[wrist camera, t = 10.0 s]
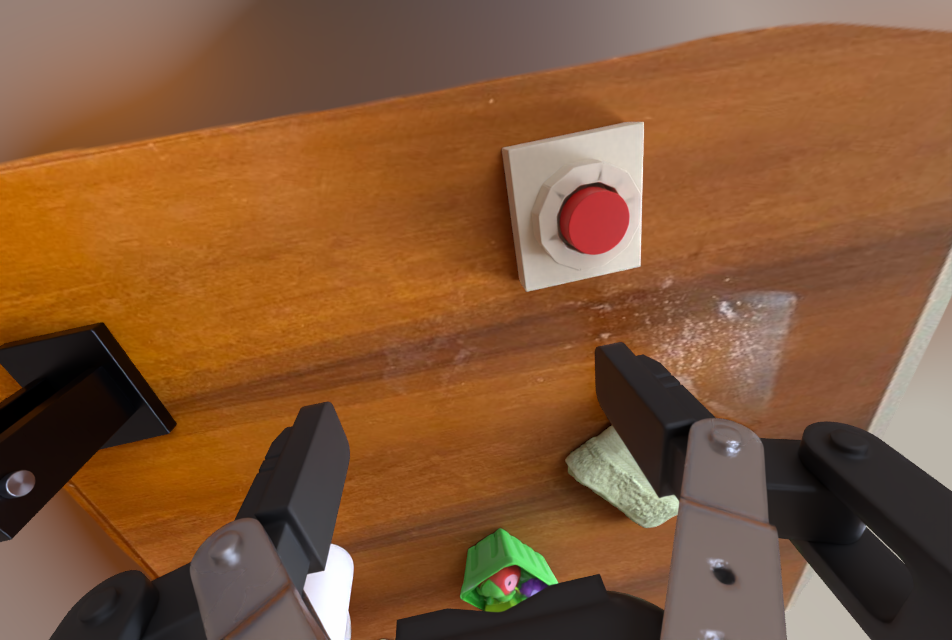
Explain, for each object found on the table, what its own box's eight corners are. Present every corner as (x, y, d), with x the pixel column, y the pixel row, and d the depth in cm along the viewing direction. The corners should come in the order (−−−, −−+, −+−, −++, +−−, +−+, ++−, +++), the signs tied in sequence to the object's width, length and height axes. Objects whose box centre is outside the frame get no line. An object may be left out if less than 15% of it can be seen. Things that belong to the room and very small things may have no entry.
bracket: (4, 343, 28) (-245, 475, 17) (103, 321, 28) (-83, 439, 18) (93, 443, 32) (-60, 594, 22) (177, 423, 33) (65, 565, 22)
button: (557, 193, 25) (566, 198, 23) (617, 180, 25) (630, 184, 23) (561, 253, 26) (570, 261, 25) (617, 240, 27) (629, 247, 25)
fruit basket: (557, 554, 49) (593, 666, 39) (503, 588, 50) (524, 703, 40) (502, 516, 44) (527, 631, 34) (444, 554, 46) (452, 675, 36)
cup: (327, 529, 41) (303, 643, 32) (384, 583, 46) (377, 693, 38) (259, 558, 41) (216, 678, 33) (324, 608, 47) (302, 722, 38)
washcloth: (640, 520, 48) (654, 545, 45) (553, 456, 41) (563, 481, 38) (731, 458, 45) (753, 481, 42) (654, 377, 38) (674, 398, 35)
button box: (501, 147, 26) (514, 151, 23) (627, 121, 27) (660, 121, 23) (519, 281, 31) (532, 302, 27) (626, 257, 31) (653, 275, 28)
